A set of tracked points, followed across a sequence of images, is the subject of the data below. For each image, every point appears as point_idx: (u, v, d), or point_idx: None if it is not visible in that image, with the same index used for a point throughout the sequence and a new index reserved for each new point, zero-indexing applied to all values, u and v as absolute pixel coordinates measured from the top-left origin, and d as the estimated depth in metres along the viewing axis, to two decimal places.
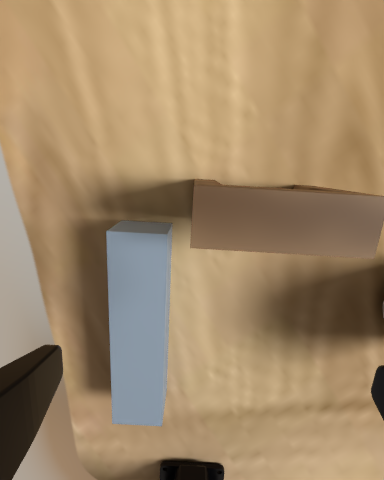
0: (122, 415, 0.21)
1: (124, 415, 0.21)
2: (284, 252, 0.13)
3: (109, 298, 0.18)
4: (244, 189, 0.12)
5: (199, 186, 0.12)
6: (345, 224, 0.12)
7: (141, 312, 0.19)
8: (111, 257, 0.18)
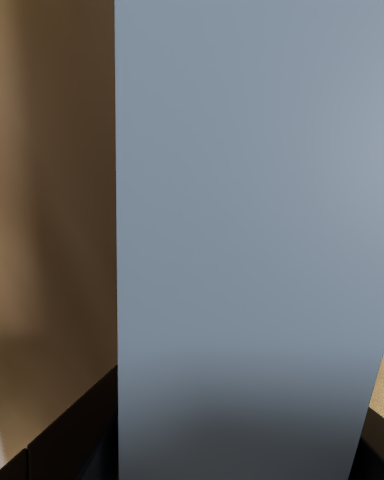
0: None
1: None
2: None
3: None
4: None
5: None
6: None
7: (320, 48, 0.03)
8: None
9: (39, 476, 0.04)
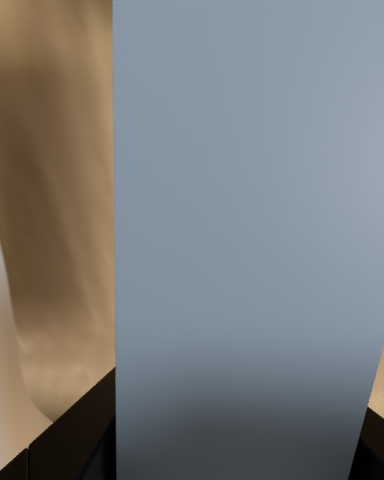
0: None
1: None
2: None
3: None
4: None
5: None
6: None
7: (318, 39, 0.03)
8: None
9: (41, 476, 0.04)
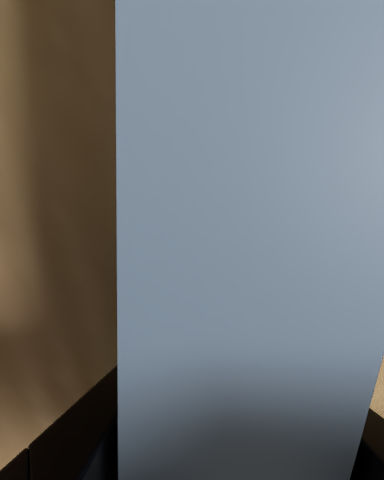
0: None
1: None
2: None
3: None
4: None
5: None
6: None
7: (320, 38, 0.03)
8: None
9: (41, 476, 0.04)
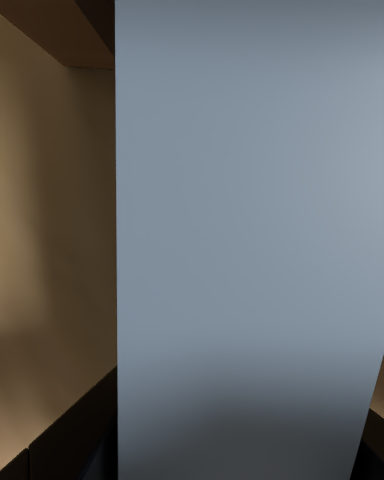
0: None
1: None
2: None
3: None
4: None
5: None
6: None
7: (321, 38, 0.03)
8: None
9: (41, 476, 0.04)
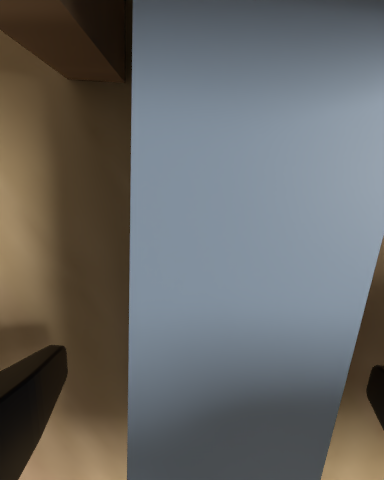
0: None
1: None
2: None
3: None
4: None
5: None
6: None
7: (304, 69, 0.04)
8: None
9: None
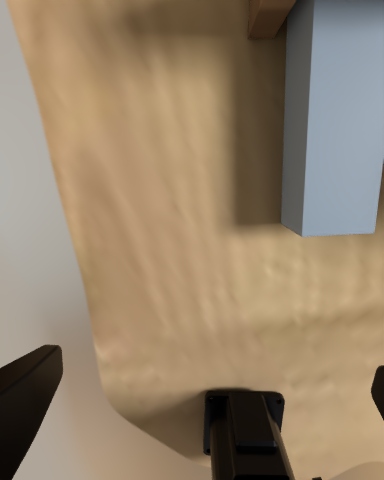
0: (317, 220, 0.15)
1: (320, 220, 0.15)
2: None
3: None
4: None
5: None
6: None
7: (364, 19, 0.12)
8: None
9: None
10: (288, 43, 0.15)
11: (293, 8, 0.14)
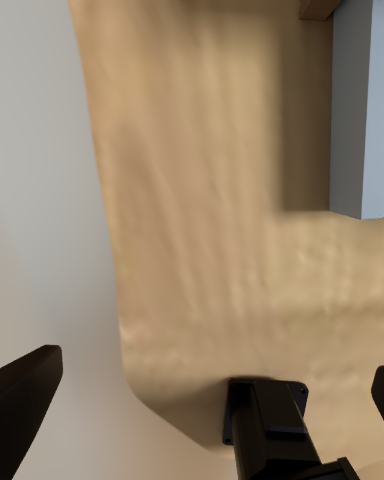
0: (377, 201, 0.15)
1: (380, 202, 0.15)
2: None
3: None
4: None
5: None
6: None
7: None
8: None
9: None
10: (336, 29, 0.15)
11: None
